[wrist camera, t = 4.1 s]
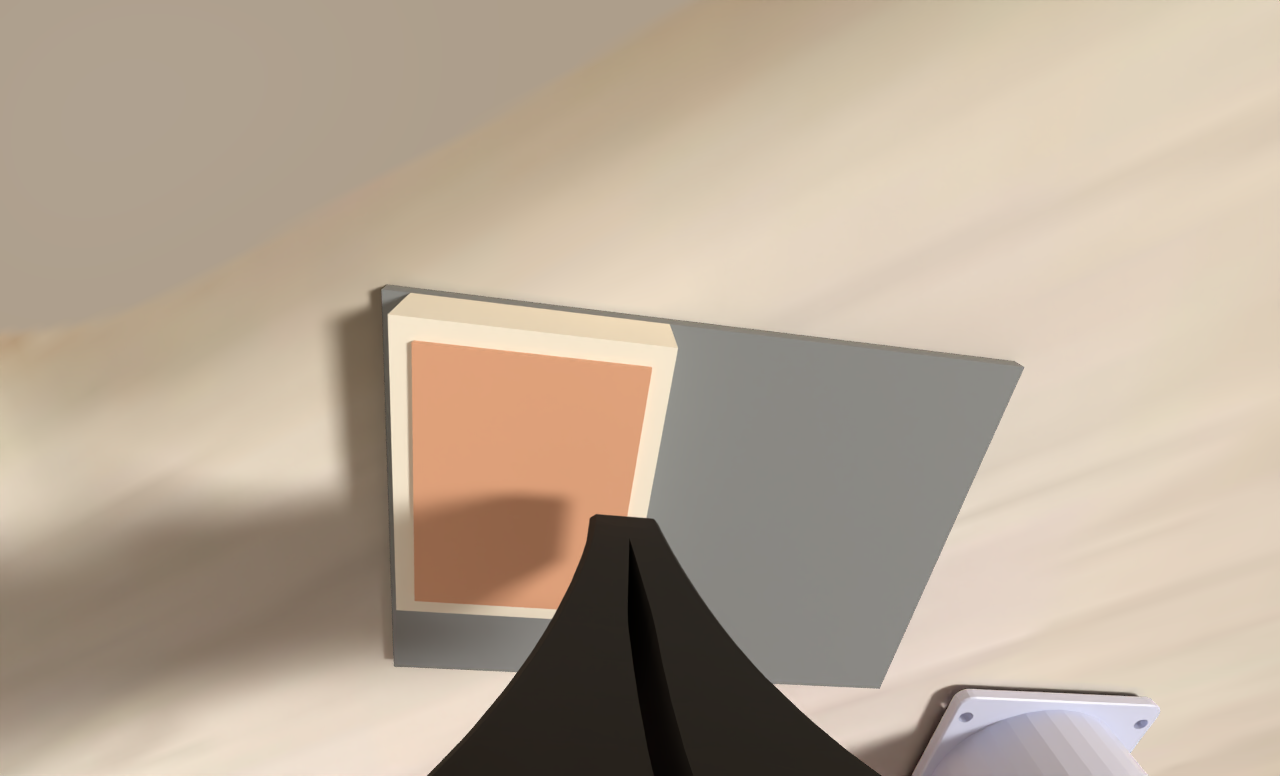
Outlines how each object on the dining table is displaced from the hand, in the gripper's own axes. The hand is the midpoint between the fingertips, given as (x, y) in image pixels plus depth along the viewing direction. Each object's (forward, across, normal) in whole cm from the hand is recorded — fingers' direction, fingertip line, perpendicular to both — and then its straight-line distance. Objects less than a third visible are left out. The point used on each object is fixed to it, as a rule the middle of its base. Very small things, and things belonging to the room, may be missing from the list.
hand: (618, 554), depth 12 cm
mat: (+4, -2, +2) cm, 5 cm away
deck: (+3, -1, 0) cm, 3 cm away
